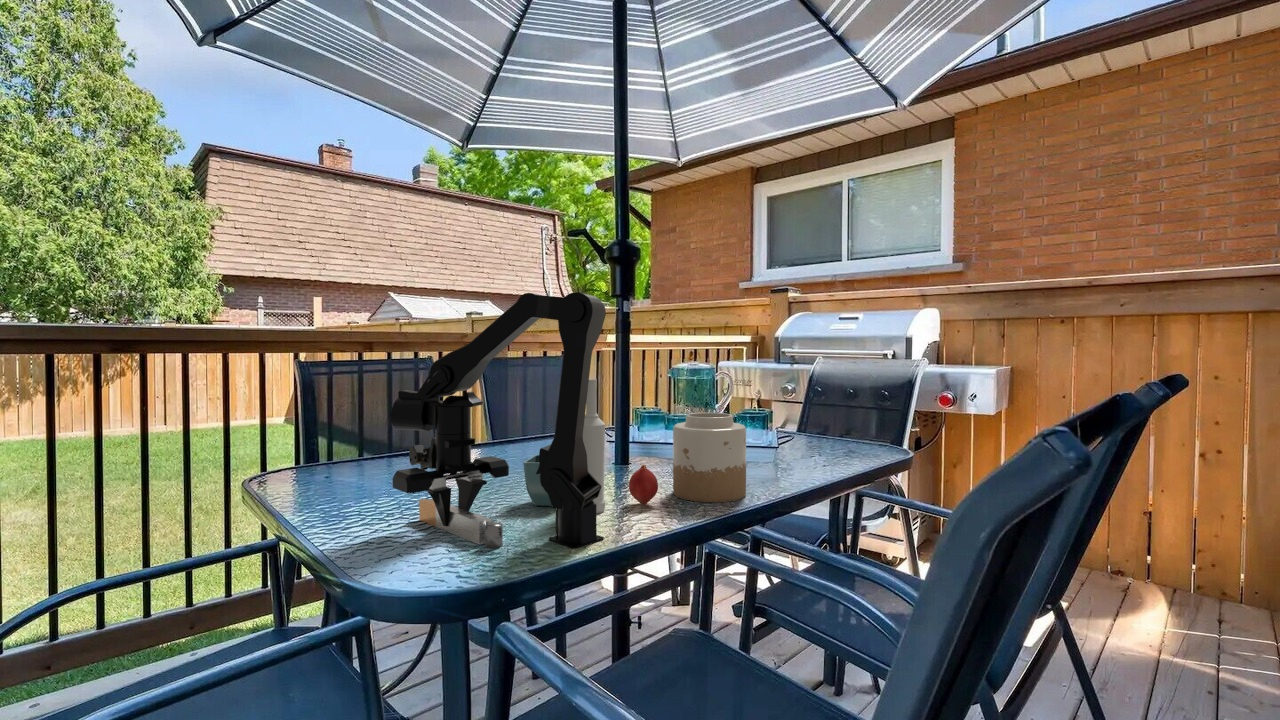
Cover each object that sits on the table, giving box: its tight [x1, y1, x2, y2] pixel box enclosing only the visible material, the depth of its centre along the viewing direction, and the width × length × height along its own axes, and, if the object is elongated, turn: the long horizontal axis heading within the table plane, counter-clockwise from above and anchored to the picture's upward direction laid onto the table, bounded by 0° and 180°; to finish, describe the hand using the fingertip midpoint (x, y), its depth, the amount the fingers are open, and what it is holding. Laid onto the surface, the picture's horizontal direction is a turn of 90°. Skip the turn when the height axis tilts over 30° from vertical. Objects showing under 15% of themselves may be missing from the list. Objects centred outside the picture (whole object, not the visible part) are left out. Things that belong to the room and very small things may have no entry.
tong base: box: [429, 498, 504, 550], centre depth 104 cm, size 23×3×4 cm, turn 46°
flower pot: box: [523, 454, 552, 507], centre depth 123 cm, size 9×9×9 cm
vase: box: [672, 412, 747, 503], centre depth 131 cm, size 15×15×17 cm
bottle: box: [583, 378, 606, 515], centre depth 117 cm, size 5×5×25 cm
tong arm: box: [418, 498, 486, 546], centre depth 104 cm, size 20×1×4 cm, turn 46°
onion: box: [628, 464, 659, 506], centre depth 122 cm, size 6×6×8 cm
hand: (453, 523), depth 105 cm, fingers open, 3 cm apart
